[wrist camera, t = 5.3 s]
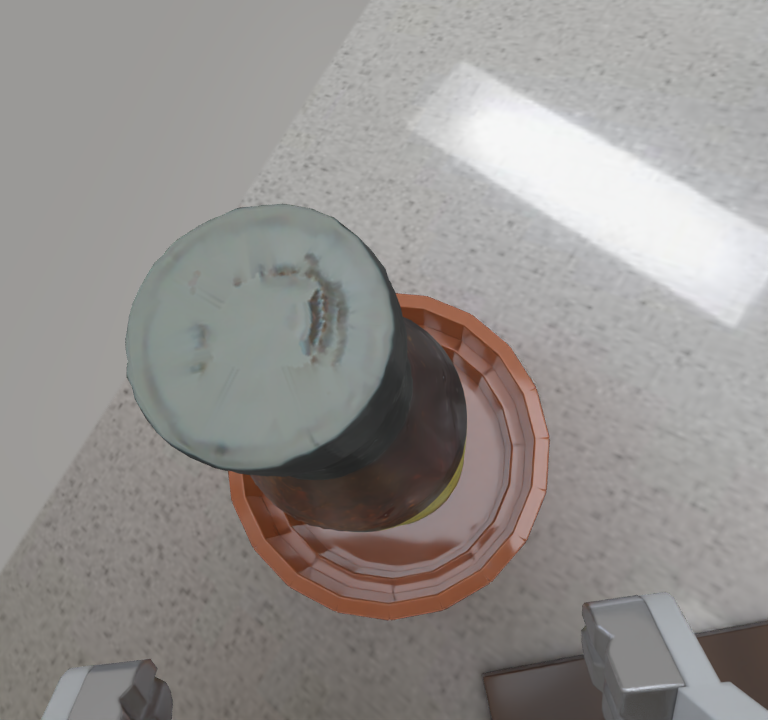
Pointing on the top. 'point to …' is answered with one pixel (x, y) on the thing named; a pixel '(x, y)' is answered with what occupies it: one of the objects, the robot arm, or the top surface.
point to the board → (584, 701)
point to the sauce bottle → (297, 370)
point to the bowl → (452, 519)
